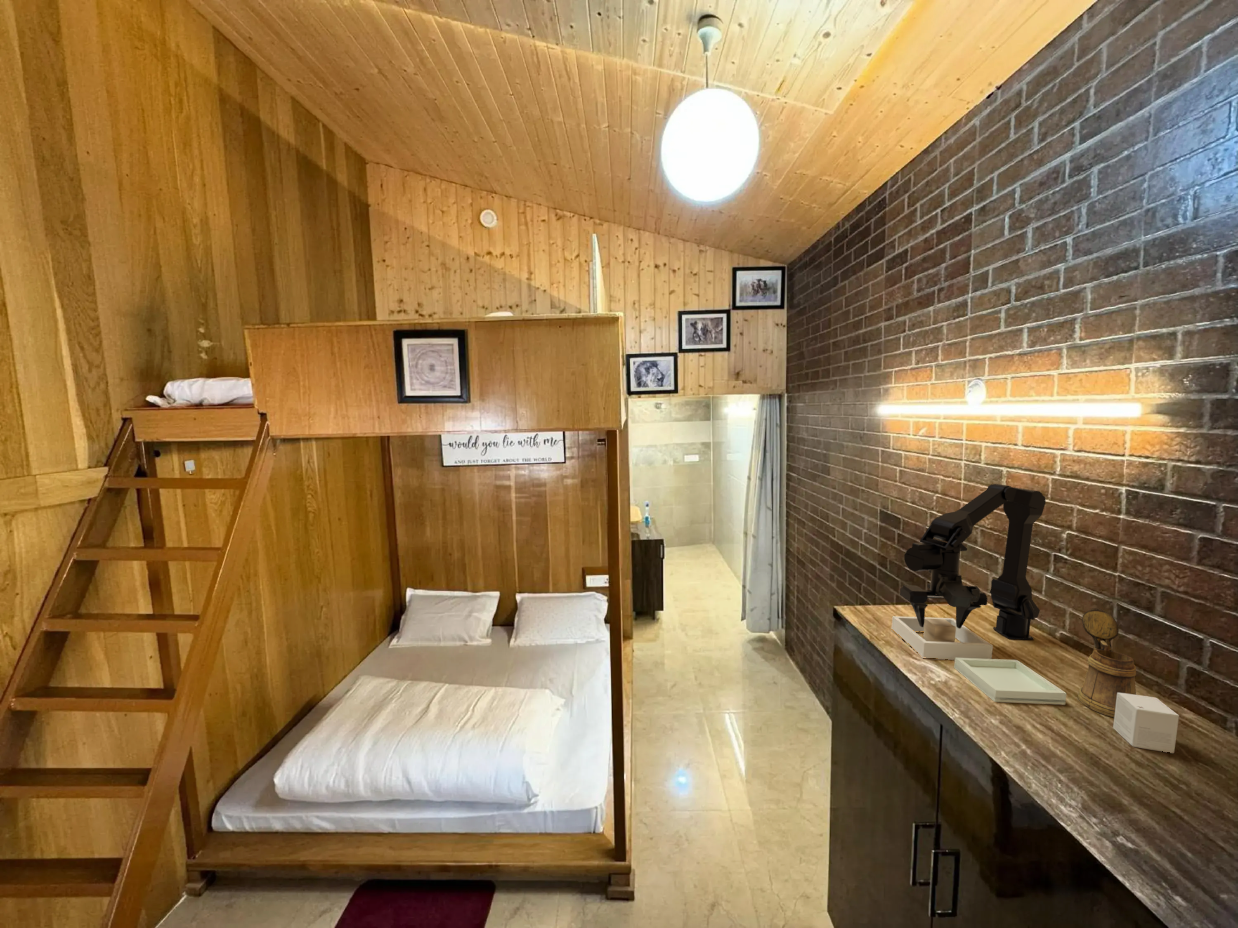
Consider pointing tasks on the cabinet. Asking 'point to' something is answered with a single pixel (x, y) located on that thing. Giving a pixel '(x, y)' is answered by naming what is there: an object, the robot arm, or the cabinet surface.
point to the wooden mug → (1105, 665)
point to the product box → (1145, 722)
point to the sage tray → (1009, 681)
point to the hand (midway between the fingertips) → (940, 627)
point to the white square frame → (965, 648)
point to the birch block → (939, 630)
